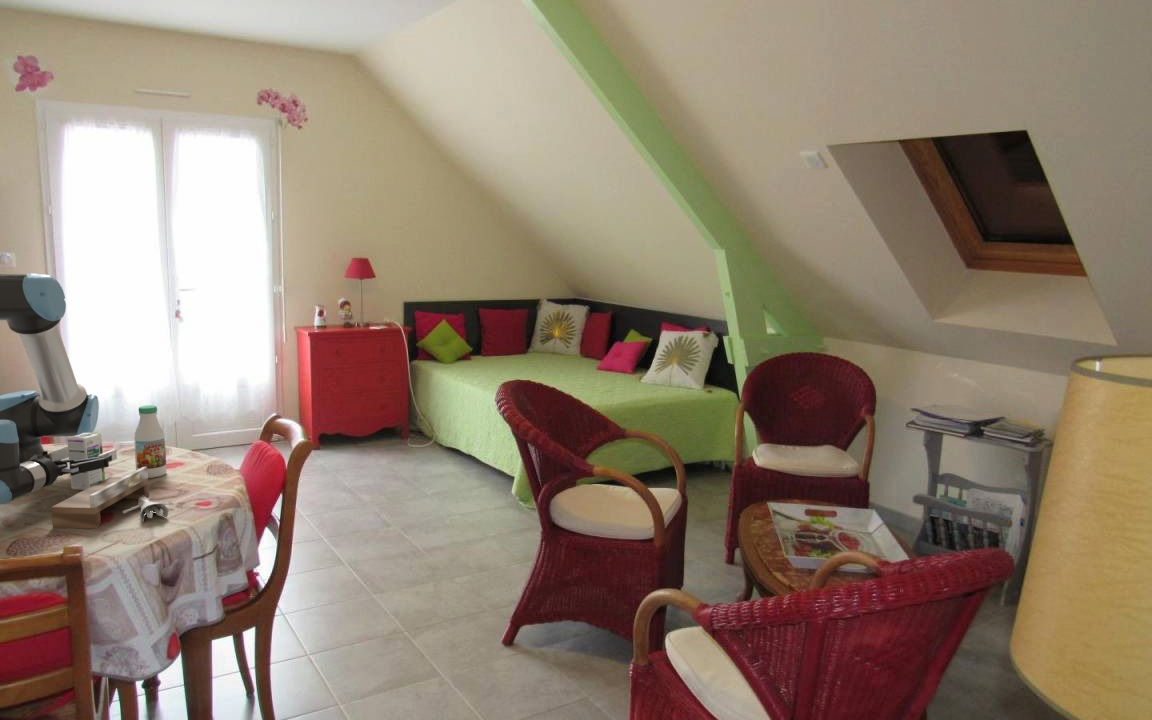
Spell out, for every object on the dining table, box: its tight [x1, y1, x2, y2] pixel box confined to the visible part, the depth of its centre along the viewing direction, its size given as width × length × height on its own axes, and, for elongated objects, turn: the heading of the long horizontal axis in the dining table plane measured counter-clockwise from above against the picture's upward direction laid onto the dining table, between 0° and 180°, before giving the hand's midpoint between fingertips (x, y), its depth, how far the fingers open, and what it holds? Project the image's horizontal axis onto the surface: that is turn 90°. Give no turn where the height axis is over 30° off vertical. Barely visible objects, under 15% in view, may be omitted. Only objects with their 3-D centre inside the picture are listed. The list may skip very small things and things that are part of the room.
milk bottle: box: [133, 404, 167, 479], centre depth 228 cm, size 8×8×20 cm
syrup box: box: [66, 432, 106, 491], centre depth 217 cm, size 6×6×14 cm
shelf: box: [51, 467, 150, 529], centre depth 199 cm, size 24×10×8 cm, turn 1°
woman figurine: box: [122, 495, 175, 522], centre depth 198 cm, size 12×4×18 cm
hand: (91, 452), depth 218 cm, fingers open, 13 cm apart
